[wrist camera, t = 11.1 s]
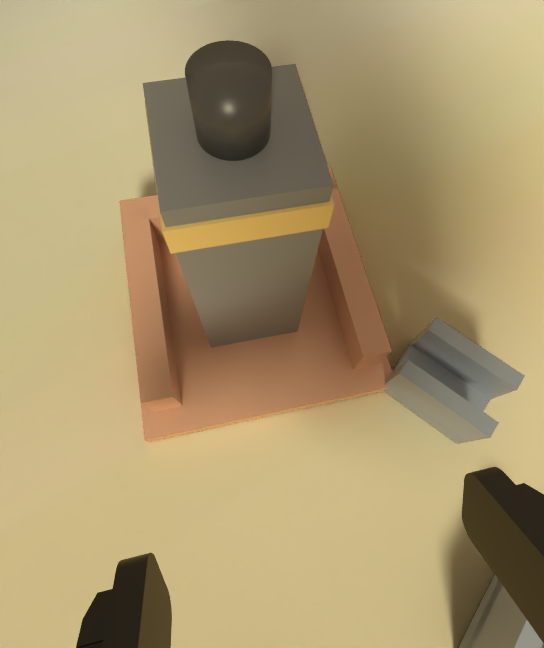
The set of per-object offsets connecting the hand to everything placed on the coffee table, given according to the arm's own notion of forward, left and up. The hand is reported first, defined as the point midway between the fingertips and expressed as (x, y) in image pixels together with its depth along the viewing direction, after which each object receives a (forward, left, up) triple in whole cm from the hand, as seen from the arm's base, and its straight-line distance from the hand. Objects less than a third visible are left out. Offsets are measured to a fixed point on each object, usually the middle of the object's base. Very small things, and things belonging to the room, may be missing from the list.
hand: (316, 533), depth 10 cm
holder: (-3, +9, -7) cm, 12 cm away
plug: (-3, +9, -6) cm, 11 cm away
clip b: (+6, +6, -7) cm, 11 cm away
